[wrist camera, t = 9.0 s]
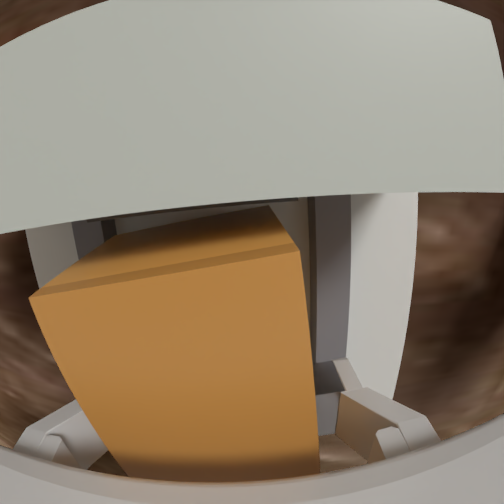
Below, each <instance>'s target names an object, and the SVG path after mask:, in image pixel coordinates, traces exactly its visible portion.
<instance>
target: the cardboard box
mask: <svg viewBox="0 0 504 504" xmlns="http://www.w3.org/2000/svg"><path fill="white" fill-rule="evenodd" d="M29 301H30V303H31V306H32V308H33V311H34V314H35V316H36V318H37V321H38V323H39V326H40V328H41V330H42V333H43V335H44V337H45V339H46V342H47V344H48V346H49V348H50V350H51V352H52V354H53V357H54V359H55V361H56V363H57V365H58V367H59V369H60V371H61V373H62V374H63V376H64V378H65V380H66V382H67V384H68V386H69V388H70V389H71V391H72V393H73V395H74V396H75V398H76V400H77V402H78V403H79V405H80V407H81V408H82V410H83V412H84V413H85V415H86V417H87V418H88V420H89V421H90V423H91V425H92V426H93V428H94V429H95V431H96V432H97V434H98V435H99V437H100V438H101V440H102V441H103V443H104V444H105V446H106V447H107V449H108V450H109V451H110V453H111V454H112V456H113V457H114V458H115V460H116V461H117V462H118V464H119V465H120V466H121V468H122V469H123V470H124V472H125V473H126V474H127V475H128V477H134V478H142V479H152V480H164V481H179V482H246V481H262V480H274V479H284V478H292V477H300V476H307V475H314V474H320V458H319V441H318V425H317V411H316V398H315V386H314V374H313V363H312V352H311V342H310V333H309V323H308V314H307V305H306V296H305V288H304V280H303V272H302V264H301V256H300V250H299V249H298V247H297V246H296V244H295V243H294V241H293V240H292V238H291V237H290V236H289V234H288V233H287V231H286V230H285V228H284V227H283V225H282V224H281V222H280V221H279V219H278V218H277V216H276V215H275V213H274V212H273V211H272V209H271V208H270V206H269V205H267V206H261V207H255V208H250V209H244V210H238V211H233V212H227V213H222V214H217V215H211V216H206V217H201V218H196V219H191V220H186V221H181V222H176V223H171V224H166V225H161V226H156V227H151V228H146V229H142V230H137V231H132V232H128V233H123V234H119V235H115V236H113V237H112V238H110V239H109V240H107V241H106V242H104V243H103V244H101V245H100V246H98V247H97V248H95V249H94V250H93V251H91V252H90V253H88V254H87V255H85V256H84V257H83V258H81V259H80V260H78V261H77V262H75V263H74V264H73V265H71V266H70V267H69V268H67V269H66V270H64V271H63V272H62V273H60V274H59V275H58V276H56V277H55V278H54V279H52V280H51V281H50V282H48V283H47V284H46V285H44V286H43V287H42V288H40V289H39V290H38V291H36V292H35V293H34V294H32V295H31V296H30V297H29Z"/></svg>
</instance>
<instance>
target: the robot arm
mask: <svg viewBox="0 0 504 504" xmlns="http://www.w3.org/2000/svg"><path fill="white" fill-rule="evenodd" d="M313 374H314V386H315V398H316V411H317V425H318V436H320V435H327V434H334V433H335V435H337V436H338V437H339V438H340V439H341V440H343V441H344V442H345V443H346V444H347V445H349V446H350V447H351V448H352V449H354V450H355V451H356V452H357V453H359V454H360V455H361V456H362V457H364V458H365V459H366V460H367V461H368V462H367V464H365V465H361V466H356V467H352V468H347V469H342V470H337V471H332V472H326V473H320V474H314V475H307V476H300V477H292V478H284V479H274V480H262V481H246V482H179V481H164V480H152V479H142V478H134V477H126V476H119V475H112V474H106V473H101V472H95V471H90V470H87V469H88V468H89V467H90V466H91V465H92V464H93V463H94V462H95V461H97V460H98V459H99V458H100V457H101V456H102V455H103V454H104V453H105V452H106V451H108V449H107V447H106V446H105V444H104V443H103V441H102V440H101V438H100V437H99V435H98V434H97V432H96V431H95V429H94V428H93V426H92V425H91V423H90V421H89V420H88V418H87V417H86V415H85V413H84V412H83V410H82V408H81V407H80V405H79V403H78V402H77V400H74V401H72V402H70V403H69V404H67V405H65V406H63V407H62V408H60V409H58V410H57V411H55V412H53V413H51V414H50V415H48V416H46V417H44V418H42V419H41V420H39V421H37V422H35V423H34V424H32V425H30V426H28V427H26V429H25V430H24V432H23V434H22V435H21V437H20V438H19V440H18V442H17V443H16V445H15V446H14V448H13V449H10V448H7V447H4V446H2V445H0V504H504V413H503V414H501V415H499V416H497V417H495V418H493V419H491V420H489V421H487V422H485V423H483V424H481V425H478V426H476V427H474V428H472V429H470V430H467V431H465V432H463V433H460V434H458V435H455V436H453V437H450V438H448V439H445V440H443V441H441V440H440V439H439V437H438V435H437V434H436V432H435V430H434V429H433V427H432V426H431V424H430V422H429V421H428V419H427V417H426V416H425V415H423V414H420V413H418V412H416V411H414V410H412V409H410V408H408V407H406V406H404V405H402V404H400V403H398V402H396V401H394V400H392V399H390V398H388V397H386V396H384V395H382V394H380V393H378V392H376V391H374V390H372V389H370V388H368V387H365V388H363V387H362V385H361V383H360V381H359V379H358V377H357V375H356V373H355V371H354V369H353V367H352V365H351V363H350V361H349V359H348V358H346V357H345V358H340V359H334V360H331V361H325V362H318V363H313Z"/></svg>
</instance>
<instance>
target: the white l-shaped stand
mask: <svg viewBox="0 0 504 504" xmlns="http://www.w3.org/2000/svg"><path fill="white" fill-rule="evenodd" d="M418 192H502V193H504V79H503V73H502V68H501V63H500V58H499V53H498V48H497V44H496V40H495V36H494V32H493V28H492V25H491V21H490V20H489V19H486V18H484V17H482V16H479V15H477V14H474V13H472V12H469V11H466V10H464V9H461V8H458V7H455V6H452V5H450V4H447V3H443V2H440V1H437V0H109V1H106V2H103V3H99V4H96V5H93V6H90V7H87V8H85V9H82V10H79V11H76V12H74V13H71V14H69V15H66V16H64V17H61V18H59V19H56V20H54V21H52V22H49V23H47V24H45V25H42V26H40V27H38V28H36V29H34V30H32V31H30V32H28V33H26V34H24V35H22V36H20V37H18V38H16V39H14V40H12V41H10V42H8V43H7V44H5V45H3V46H1V47H0V234H3V233H8V232H13V231H19V230H24V229H25V231H26V236H27V241H28V246H29V250H30V255H31V259H32V263H33V267H34V271H35V275H36V279H37V282H38V286H39V289H40V288H42V287H43V286H44V285H46V284H47V283H48V282H50V281H51V280H52V279H54V278H55V277H56V276H58V275H59V274H60V273H62V272H63V271H64V270H66V269H67V268H69V267H70V266H71V265H73V264H74V263H75V262H77V261H78V260H80V259H81V258H83V257H84V256H85V255H87V254H88V253H90V252H91V251H93V250H94V249H95V248H97V247H98V246H100V245H101V244H103V243H104V242H106V241H107V240H109V239H110V238H112V237H113V236H115V235H119V234H123V233H128V232H132V231H137V230H142V229H146V228H151V227H156V226H161V225H166V224H171V223H176V222H181V221H186V220H191V219H196V218H201V217H206V216H211V215H217V214H222V213H227V212H233V211H238V210H244V209H250V208H255V207H261V206H267V205H269V206H270V208H271V209H272V211H273V212H274V213H275V215H276V216H277V218H278V219H279V221H280V222H281V224H282V225H283V227H284V228H285V230H286V231H287V233H288V234H289V236H290V237H291V238H292V240H293V241H294V243H295V244H296V246H297V247H298V249H299V250H300V256H301V264H302V272H303V280H304V288H305V296H306V305H307V314H308V323H309V333H310V342H311V352H312V363H318V362H325V361H331V360H334V359H340V358H345V357H346V358H348V359H349V361H350V363H351V365H352V367H353V369H354V371H355V373H356V375H357V377H358V379H359V381H360V383H361V385H362V387H363V388H365V387H368V388H370V389H372V390H374V391H376V392H378V393H380V394H382V395H384V396H386V397H388V398H390V399H393V394H394V390H395V386H396V382H397V377H398V373H399V368H400V363H401V358H402V353H403V347H404V342H405V336H406V330H407V324H408V317H409V310H410V303H411V295H412V286H413V276H414V266H415V253H416V238H417V214H418Z"/></svg>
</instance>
